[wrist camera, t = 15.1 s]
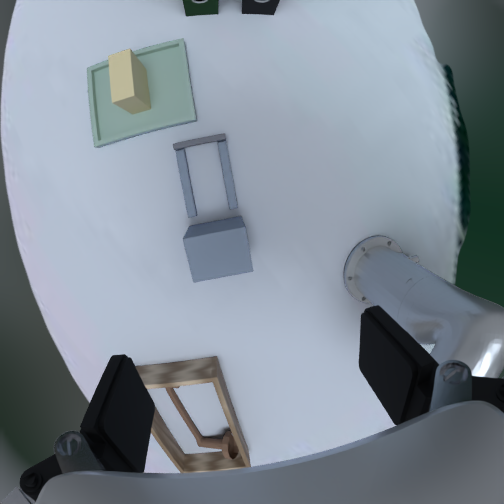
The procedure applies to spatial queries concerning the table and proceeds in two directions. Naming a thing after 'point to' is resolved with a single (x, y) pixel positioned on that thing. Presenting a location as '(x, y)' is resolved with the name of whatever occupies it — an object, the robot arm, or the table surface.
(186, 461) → the frame
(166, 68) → the tray
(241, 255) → the dispenser
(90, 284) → the table surface
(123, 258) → the table surface
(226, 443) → the toilet paper hanger
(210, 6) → the pair of upright books
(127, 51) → the block
